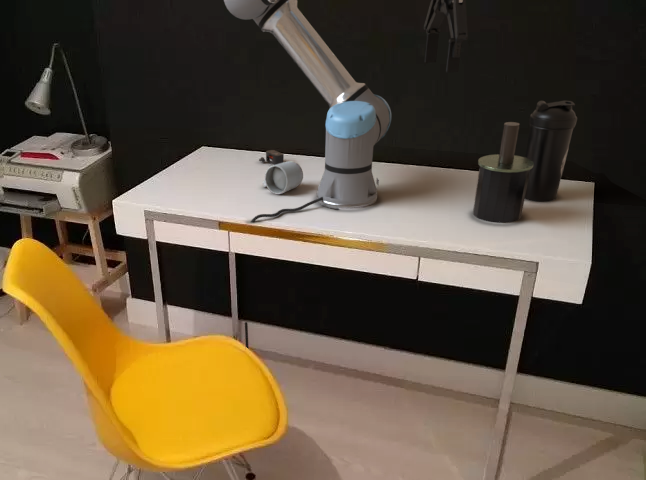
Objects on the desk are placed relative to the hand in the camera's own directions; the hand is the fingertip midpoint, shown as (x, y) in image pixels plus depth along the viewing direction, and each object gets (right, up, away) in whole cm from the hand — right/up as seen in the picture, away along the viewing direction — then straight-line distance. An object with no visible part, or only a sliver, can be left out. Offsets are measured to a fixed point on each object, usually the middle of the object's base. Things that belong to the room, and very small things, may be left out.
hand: (440, 67), depth 167 cm
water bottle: (+27, -29, +9) cm, 41 cm away
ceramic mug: (-37, -25, +21) cm, 49 cm away
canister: (+13, -36, -2) cm, 38 cm away
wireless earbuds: (-37, -13, +42) cm, 58 cm away
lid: (+12, -25, -8) cm, 29 cm away
